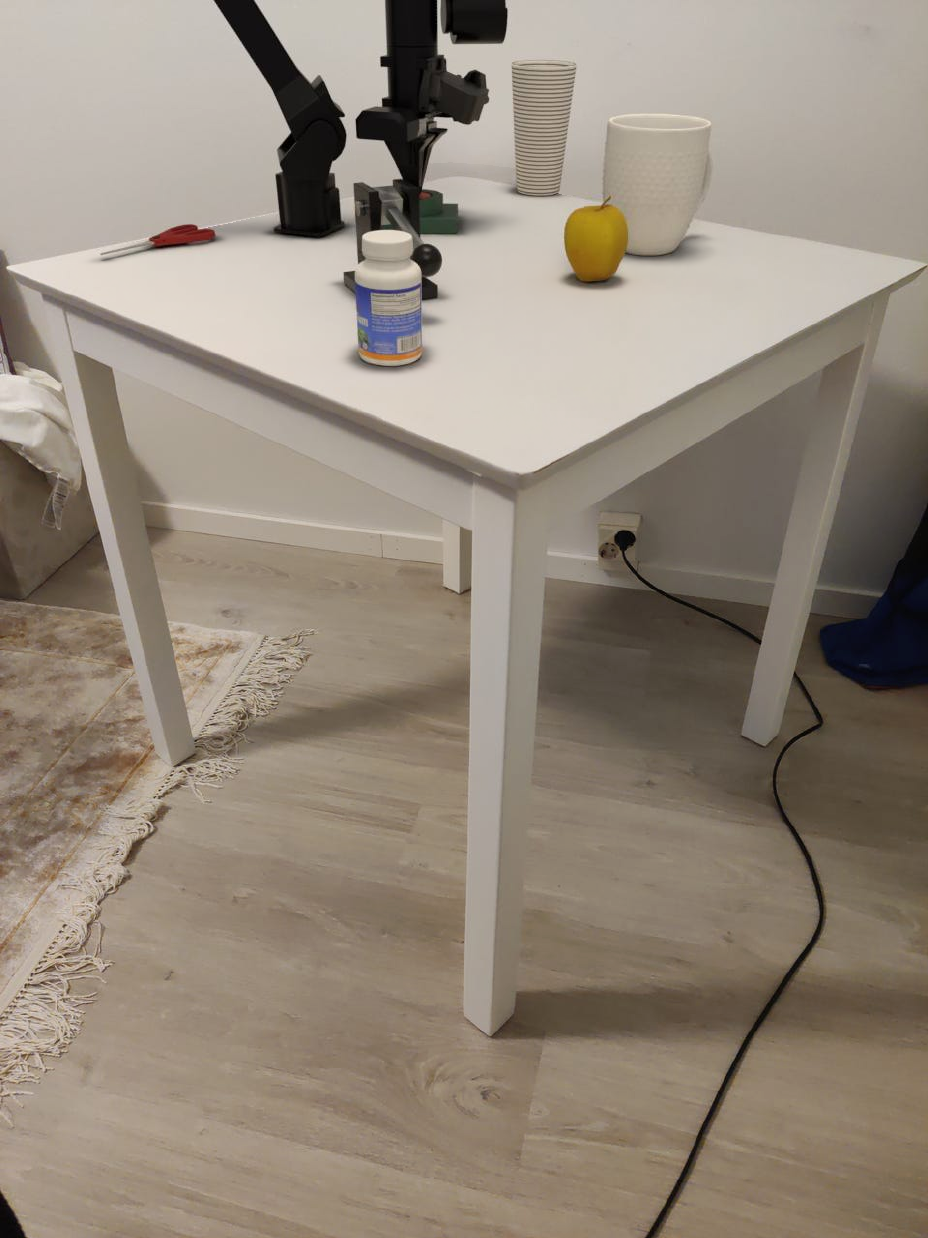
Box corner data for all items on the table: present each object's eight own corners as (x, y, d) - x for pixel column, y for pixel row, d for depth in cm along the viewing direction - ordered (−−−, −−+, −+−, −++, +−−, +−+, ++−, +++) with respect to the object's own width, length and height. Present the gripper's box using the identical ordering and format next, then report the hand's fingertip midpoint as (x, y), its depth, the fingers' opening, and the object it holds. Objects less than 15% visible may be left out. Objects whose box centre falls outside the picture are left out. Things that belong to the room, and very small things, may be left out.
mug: (662, 226, 117) (677, 106, 109) (735, 245, 110) (756, 118, 102) (576, 246, 109) (585, 118, 102) (648, 267, 102) (664, 132, 95)
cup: (503, 196, 130) (507, 65, 121) (511, 183, 137) (515, 58, 128) (565, 199, 129) (574, 67, 120) (570, 186, 136) (578, 60, 127)
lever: (445, 281, 86) (448, 252, 84) (416, 284, 85) (419, 255, 83) (394, 210, 93) (396, 182, 91) (367, 213, 92) (368, 185, 90)
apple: (630, 275, 100) (639, 193, 95) (612, 291, 95) (620, 206, 91) (573, 267, 102) (579, 187, 98) (552, 283, 97) (557, 200, 93)
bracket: (437, 297, 94) (436, 190, 88) (371, 306, 91) (365, 196, 85) (407, 275, 99) (404, 174, 94) (343, 283, 97) (336, 179, 91)
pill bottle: (359, 345, 82) (352, 227, 77) (421, 343, 83) (419, 226, 77) (358, 368, 78) (351, 245, 72) (424, 366, 78) (422, 243, 73)
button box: (372, 232, 114) (371, 201, 112) (379, 216, 120) (377, 187, 118) (456, 233, 114) (456, 202, 112) (458, 217, 120) (458, 187, 118)
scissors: (219, 238, 111) (218, 229, 110) (115, 263, 102) (113, 253, 101) (190, 230, 114) (189, 221, 113) (87, 254, 105) (85, 245, 104)
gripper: (447, 55, 96) (448, 218, 106) (507, 40, 111) (503, 185, 120) (349, 51, 100) (358, 209, 109) (419, 37, 114) (422, 178, 123)
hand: (415, 195), depth 115 cm, fingers closed, pressing on button
